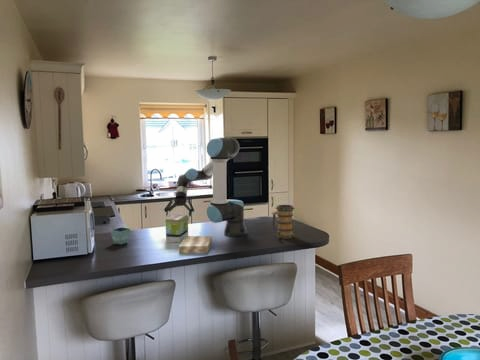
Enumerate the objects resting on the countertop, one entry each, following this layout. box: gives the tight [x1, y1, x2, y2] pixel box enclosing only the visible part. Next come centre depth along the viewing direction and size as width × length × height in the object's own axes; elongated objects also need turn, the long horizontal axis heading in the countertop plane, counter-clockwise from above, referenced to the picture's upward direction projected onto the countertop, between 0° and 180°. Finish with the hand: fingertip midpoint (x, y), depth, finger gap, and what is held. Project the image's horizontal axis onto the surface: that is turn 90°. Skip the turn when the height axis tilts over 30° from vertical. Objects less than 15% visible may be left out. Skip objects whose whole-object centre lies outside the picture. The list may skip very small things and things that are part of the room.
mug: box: [271, 204, 296, 240], centre depth 239 cm, size 13×17×20 cm
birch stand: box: [178, 235, 213, 254], centre depth 221 cm, size 16×22×4 cm
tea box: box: [165, 214, 189, 243], centre depth 240 cm, size 15×10×15 cm
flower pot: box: [110, 226, 131, 245], centre depth 233 cm, size 9×9×9 cm
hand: (177, 220), depth 247 cm, fingers open, 13 cm apart
